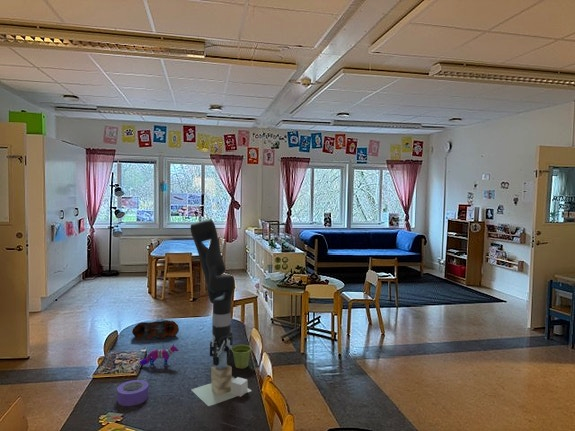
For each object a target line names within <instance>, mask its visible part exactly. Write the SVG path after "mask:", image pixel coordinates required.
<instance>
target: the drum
mask: <svg viewBox="0 0 575 431" xmlns="http://www.w3.org/2000/svg"><path fill="white" fill-rule="evenodd" d="M217 352H218V351H217ZM227 365H228V357H227V352H226V351H221V352H220V353H219V365H218V366H216V365H214V366H215V368H216V369H219V370H222V369H225V368H226V367H227Z"/></svg>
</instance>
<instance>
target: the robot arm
mask: <svg viewBox="0 0 575 431" xmlns="http://www.w3.org/2000/svg"><path fill="white" fill-rule="evenodd" d="M189 228H190V234H191V236H192V239H193V242H194V245H195V248H196V250H197V253H198V258H199V262H200V266H201V270H202V272H203V274H204V275H203V276H204V278H205V283H206V288H207V293H208V298H209V301H210V303H211V304H212V316H211V317H212V319H211V320H212V321H211V322H212V326H211V327H212V330H211V332H212V341H210V343H209V357H212V358H213V360H212V364H213V366H215V365H216V366H218V365H219V353H220V352H221V351H226V352H227V358H229V357H230V354H231V353H230V351H231V349H232V348H233V344H234V343H233V342H234V341H233V331H232V330H231V329H232V318H231V317H232V316H231V312H232V295H233V292H234V288H235V285H236V284H235V283H236V282H235V278H234V276H233V275H232V274H224V273H225V271H226V265H225V262H224V259H223V256H222V252H221V248H220V247H221V246H220V241H219V237H218V231H217V228H216V225H215V222H214V220H212V219H211V218H207V219H204V220H200V221H196V222H192V223H191V225H190V227H189ZM209 240H210V244H209V247H207V246H206V245H205V244H204V242H205V241H209ZM217 351H218V352H217Z"/></svg>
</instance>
